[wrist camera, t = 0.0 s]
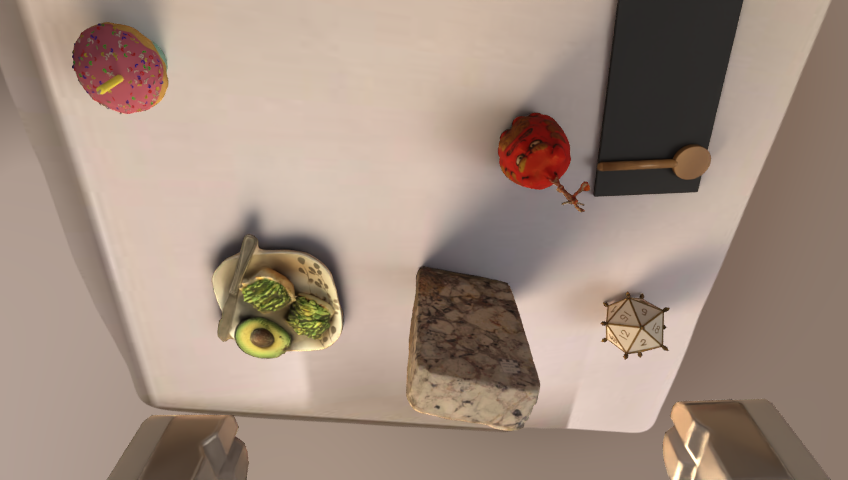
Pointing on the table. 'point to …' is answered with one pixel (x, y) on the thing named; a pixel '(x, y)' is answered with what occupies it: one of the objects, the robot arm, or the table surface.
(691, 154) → the spoon
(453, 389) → the stone block
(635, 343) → the game die
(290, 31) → the table surface
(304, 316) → the salad plate
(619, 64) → the placemat
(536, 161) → the red clay folk toy
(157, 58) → the cupcake
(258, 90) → the table surface
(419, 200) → the table surface
